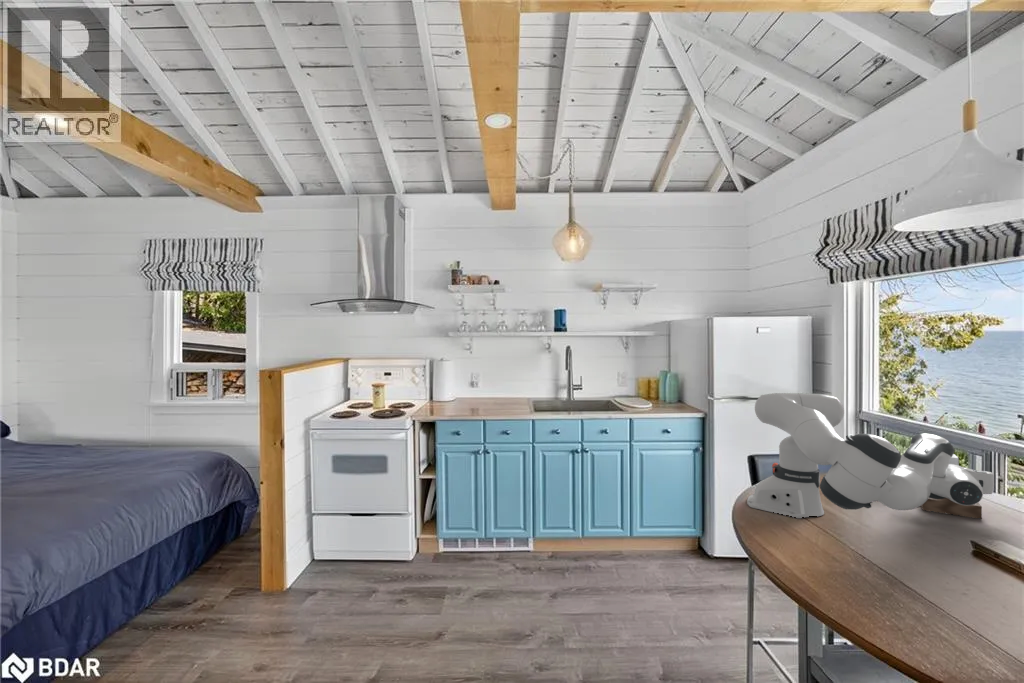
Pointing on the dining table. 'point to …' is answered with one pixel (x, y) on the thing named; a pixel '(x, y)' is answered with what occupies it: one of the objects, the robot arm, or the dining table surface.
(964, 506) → the stand
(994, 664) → the dining table surface
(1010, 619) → the dining table surface
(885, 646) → the dining table surface
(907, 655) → the dining table surface
